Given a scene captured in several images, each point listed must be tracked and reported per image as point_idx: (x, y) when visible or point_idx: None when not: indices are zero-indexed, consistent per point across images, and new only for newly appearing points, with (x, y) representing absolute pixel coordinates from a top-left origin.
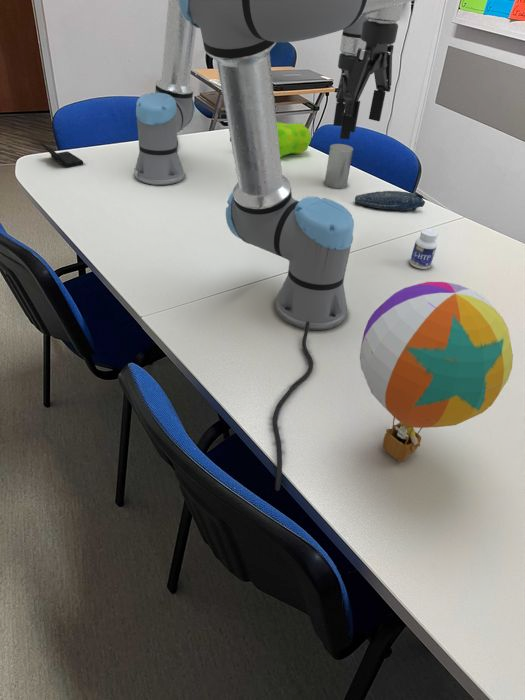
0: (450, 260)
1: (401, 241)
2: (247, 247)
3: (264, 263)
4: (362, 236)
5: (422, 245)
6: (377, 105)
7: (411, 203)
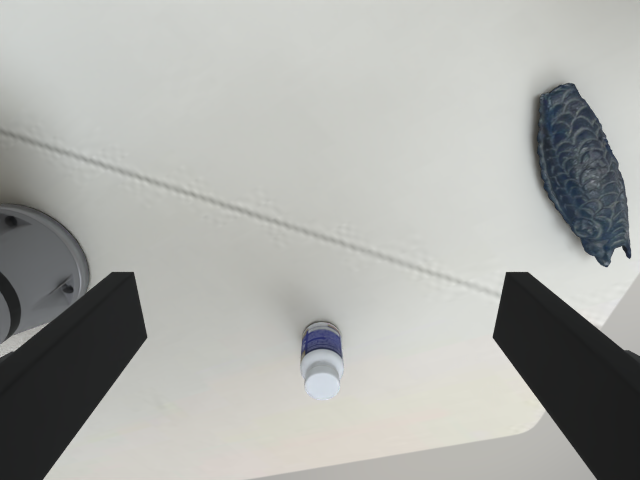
0: (379, 368)
1: (395, 277)
2: (88, 7)
3: (69, 96)
4: (359, 203)
5: (300, 369)
6: (555, 382)
7: (585, 240)
